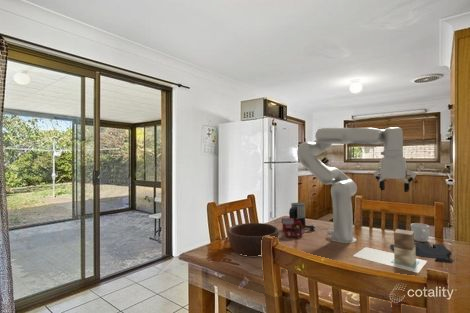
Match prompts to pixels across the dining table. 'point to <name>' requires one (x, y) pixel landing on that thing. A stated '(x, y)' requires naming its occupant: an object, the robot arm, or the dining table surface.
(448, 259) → the dark slate chunk
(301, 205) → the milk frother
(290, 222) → the toy fire truck
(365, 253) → the build plate
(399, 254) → the birch block
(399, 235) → the walnut block
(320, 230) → the dining table surface
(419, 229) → the cup
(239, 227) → the wooden bowl
